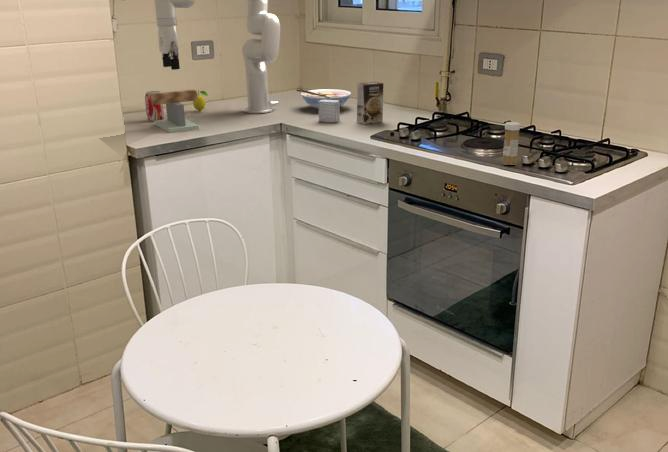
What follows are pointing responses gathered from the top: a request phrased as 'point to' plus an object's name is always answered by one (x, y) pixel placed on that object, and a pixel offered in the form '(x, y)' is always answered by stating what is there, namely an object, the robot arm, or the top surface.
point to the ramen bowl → (324, 96)
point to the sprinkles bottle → (511, 142)
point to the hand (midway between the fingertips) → (171, 68)
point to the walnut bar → (173, 97)
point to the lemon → (200, 101)
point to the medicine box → (329, 111)
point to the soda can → (153, 108)
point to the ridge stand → (176, 119)
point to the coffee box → (370, 102)
